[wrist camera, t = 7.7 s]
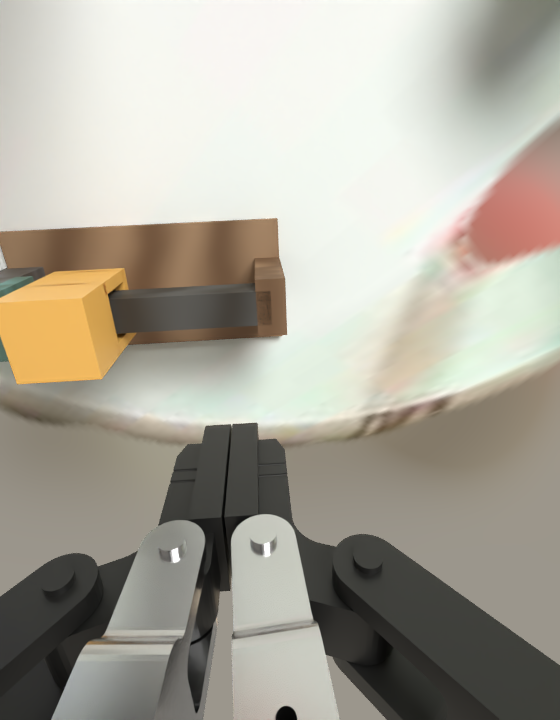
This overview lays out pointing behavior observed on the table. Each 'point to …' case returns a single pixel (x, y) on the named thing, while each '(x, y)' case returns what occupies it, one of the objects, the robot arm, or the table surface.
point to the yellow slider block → (63, 326)
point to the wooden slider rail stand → (167, 275)
